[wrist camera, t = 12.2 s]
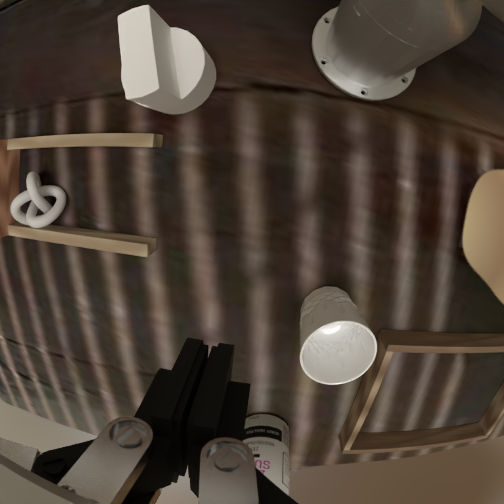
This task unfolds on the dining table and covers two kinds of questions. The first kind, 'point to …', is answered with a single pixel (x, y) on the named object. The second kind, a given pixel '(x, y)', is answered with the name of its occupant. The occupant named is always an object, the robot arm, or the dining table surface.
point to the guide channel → (3, 223)
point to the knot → (38, 203)
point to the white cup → (334, 337)
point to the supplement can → (269, 447)
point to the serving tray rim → (429, 437)
